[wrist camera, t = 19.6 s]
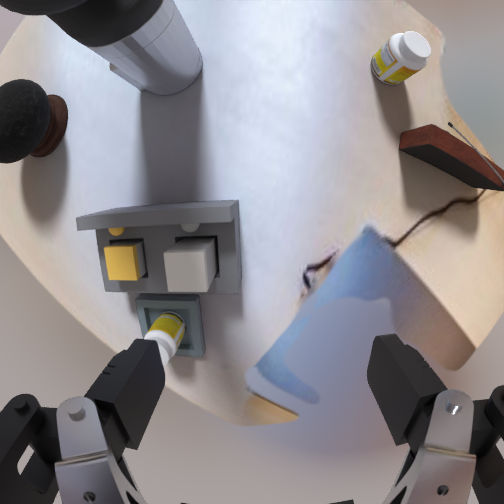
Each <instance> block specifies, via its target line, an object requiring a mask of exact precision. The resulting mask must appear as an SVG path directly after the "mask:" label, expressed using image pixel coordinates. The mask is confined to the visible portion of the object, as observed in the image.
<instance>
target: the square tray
mask: <svg viewBox="0 0 504 504" xmlns="http://www.w3.org/2000/svg"><path fill="white" fill-rule="evenodd" d="M135 303H136V308H137V313H138V318H139V322H140V327H141V331H142V336H143V339H144V337H145V335H146V333H147V332H148V331H149V329H150V328H151V326H152V325H153V323H154V322H155V321H156V319H157V318H158V316H159V315H160V314H161V313H163V312H167V311H171V312H175V313H177V314H179V315H180V316H181V317H182V318H183V320H184V321H185V323H186V332H185V334H184V336H183V338H182V341H181V343H180V345H179V347H178V349H177V351H176V353H175V355H179V356H197V357H203V355H204V352H205V344H204V336H203V328H202V320H201V312H200V303H199V296H180V295H139V296H138V297H137V298H136V299H135Z"/></svg>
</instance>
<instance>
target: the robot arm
mask: <svg viewBox="0 0 504 504" xmlns="http://www.w3.org/2000/svg"><path fill="white" fill-rule="evenodd" d="M0 5H1V6H2V7H4V8H7V9H8V10H10V11H12V12H17V13H20V14H24V15H46V16H48V17H49V18H50V19H51V20H52V21H54V22H55V23H56V24H57V25H58V26H59V27H60V28H61V29H62V30H63V31H65V32H66V33H67V34H68V35H69V36H71V37H72V38H74V39H75V40H77V41H78V42H80V43H81V44H83V45H85V46H86V47H88V48H89V49H91V50H92V51H94V52H95V53H97V54H99V55H100V56H101V57H103V58H104V59H106V60H107V61H109V62H110V70H111V71H112V72H114V73H115V74H117V75H118V76H120V77H121V78H123V79H124V80H126V81H127V82H129V83H130V84H132V85H133V86H135V87H136V88H138V89H139V90H140V91H143V90H148V91H150V92H152V93H154V94H158V95H171V94H175V93H178V92H180V91H182V90H184V89H186V88H187V87H188V86H190V85H191V84H192V83H193V82H194V81H195V80H196V78H197V77H198V75H199V73H200V71H201V68H202V56H201V53H200V51H199V48H198V46H197V45H196V43H195V41H194V39H193V37H192V35H191V33H190V31H189V29H188V27H187V25H186V24H185V22H184V20H183V18H182V16H181V14H180V12H179V10H178V8H177V6H176V5H175V3H174V1H173V0H0ZM367 380H368V384H369V386H370V388H371V390H372V392H373V395H374V397H375V399H376V401H377V403H378V405H379V408H380V410H381V412H382V414H383V416H384V419H385V421H386V423H387V425H388V428H389V430H390V432H391V435H392V437H393V439H394V442H395V444H396V446H398V445H401V444H405V443H408V444H409V446H410V448H409V450H408V451H407V454H406V456H405V459H404V461H403V464H402V466H401V468H400V471H399V473H398V475H397V477H396V480H395V482H394V484H393V486H392V488H391V490H390V492H389V494H388V495H387V497H386V499H385V500H384V502H383V503H382V504H467V502H468V498H469V494H470V490H471V486H472V487H473V489H474V492H475V494H476V496H477V499H478V501H479V504H504V459H503V457H502V455H501V453H500V452H499V450H498V448H497V446H496V443H497V442H498V441H499V439H500V438H501V437H502V439H503V441H504V385H503V386H498V387H497V388H495V389H494V390H493V392H492V394H491V396H490V398H489V399H485V400H475V401H472V400H471V398H470V397H469V396H468V395H467V394H466V393H464V392H462V391H459V390H454V389H450V390H448V389H447V388H446V386H445V385H444V384H443V382H442V381H441V380H440V378H439V377H438V376H437V375H436V373H435V372H434V371H433V369H432V368H431V367H429V364H428V363H427V362H426V361H424V358H423V357H422V356H421V354H420V353H419V352H418V351H417V350H416V349H414V348H412V347H411V346H409V345H404V344H403V342H402V341H401V340H400V339H399V337H398V336H397V335H396V334H389V335H380V336H376V337H375V339H374V341H373V346H372V351H371V356H370V360H369V365H368V369H367ZM164 385H165V372H164V368H163V364H162V359H161V355H160V351H159V346H158V343H157V341H156V340H148V339H135V340H134V342H133V343H132V344H131V346H130V347H129V348H128V350H123V351H121V352H120V353H118V354H117V355H115V356H114V357H113V358H112V359H111V361H110V362H109V364H108V365H107V367H105V369H104V370H103V371H102V373H101V374H100V375H99V377H98V378H97V380H96V381H95V382H94V383H93V385H92V386H91V387H90V389H89V390H88V392H87V393H86V394H85V396H84V397H73V398H70V399H67V400H65V401H64V402H63V403H61V404H60V406H59V407H58V408H47V407H41V406H40V404H39V402H38V401H37V399H36V398H35V397H34V396H33V395H30V394H20V395H18V396H16V397H14V398H12V399H11V400H10V401H9V402H8V404H7V405H6V406H5V407H4V409H3V410H2V411H1V412H0V504H53V502H54V499H55V497H56V495H57V493H58V491H60V496H61V499H62V504H147V503H146V501H145V500H144V498H143V496H142V495H141V493H140V491H139V489H138V487H137V484H136V482H135V480H134V478H133V476H132V474H131V471H130V469H129V467H128V465H127V462H126V460H125V457H124V455H123V451H124V449H125V447H127V448H131V449H135V450H137V449H138V447H139V444H140V442H141V440H142V437H143V435H144V432H145V430H146V428H147V425H148V423H149V420H150V418H151V416H152V413H153V411H154V409H155V407H156V404H157V402H158V400H159V398H160V395H161V393H162V390H163V388H164ZM28 445H30V447H31V448H32V449H33V450H34V453H33V455H32V456H31V458H30V459H29V461H28V463H27V465H26V466H25V468H24V470H23V472H22V473H21V475H20V474H19V472H18V469H17V464H18V461H19V459H20V458H21V456H22V454H23V453H24V451H25V450H26V448H27V446H28ZM181 504H186V503H181ZM331 504H354V502H353V500H348V501H342V502H337V503H331Z"/></svg>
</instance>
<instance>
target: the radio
mask: <svg viewBox="0 0 504 504" xmlns="http://www.w3.org/2000/svg"><path fill="white" fill-rule="evenodd" d="M448 125H449V126H450V127H452V128H454V129H455V130H456V131H457V132H458V133H459V134H460V135H461V136H462V137H463V138H464V139H465V140H466V141H467V142H468V143H469V144H470V145H471V146H472V147H473V148H474V149H473V148H472V147H470V146H469V145H467V144H466V143H464V142H462V141H461V140H459V139H458V138H456V137H454V136H453V135H451V134H449V132H447V131H445V130H443V129H441V128H439V127H437V126H435V125H433V124H430V125H426V126H423V127H419V128H416V129H412V130H409V131H406V132H402V134H401V140H400V145H399V150H400V151H403V152H405V153H407V154H409V155H412V156H414V157H416V158H418V159H420V160H422V161H424V162H426V163H428V164H431V165H433V166H435V167H437V168H439V169H440V170H442V171H444V172H446V173H448V174H450V175H452V176H454V177H456V178H457V179H459V180H461V181H463V182H464V183H466V184H468V185H470V186H471V187H473V188H481V189H489V190H497V191H504V170H502V169H501V168H500V167H498V166H497V165H496V164H494V163H493V162H492V161H490V160H489V159H488V158H486V157H485V156H483V155H482V154H481V153H480V152H479V151H478V150H477V149H476V148H475V147H474V146H473V145H472V144H471V143H470V142H469V141H468V140H467V139H466V138H465V137H464V136H463V135H462V134H461V133H460V132H459V131H458V130H457V129H456V128H455V127H453V125H452V124H451V123H450V122H448Z"/></svg>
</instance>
